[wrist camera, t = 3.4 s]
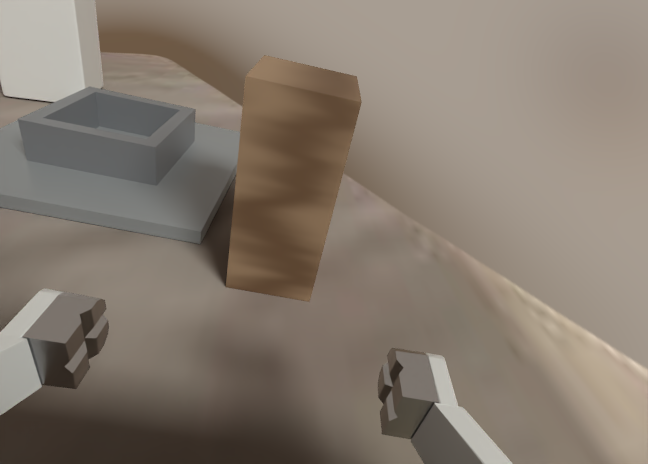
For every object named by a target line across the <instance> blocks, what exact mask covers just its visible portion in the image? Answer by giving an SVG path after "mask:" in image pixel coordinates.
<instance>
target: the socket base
mask: <svg viewBox="0 0 648 464" xmlns="http://www.w3.org/2000/svg"><path fill="white" fill-rule="evenodd" d="M239 141H240V132H237V131H233V130H228V129H223V128H218V127H214V126H209V125H204V124H200V123H195V109H193V108H188V107H183V106H179V105H174V104H169V103H165V102H160V101H155V100H151V99H146V98H141V97H137V96H132V95H127V94H123V93H118V92H113V91H109V90H104V89H99V88H95V87H90V86H89V87H87V88H85V89H83V90H80V91H78V92H76V93H74V94H72V95H69V96H67V97H65V98H63V99H61V100H58V101H56V102H54V103H52V104H50V105H47V106H45V107H43V108H41V109H39V110H37V111H34V112H32V113H30V114H28V115H26V116H23V117H21V118H19V119H18V120H17V121H15V122H13V123H11V124H8V125H6V126H4V127H2V128H0V207H2V208H7V209H13V210H18V211H24V212H29V213H35V214H40V215H45V216H51V217H56V218H62V219H67V220H73V221H78V222H83V223H89V224H94V225H100V226H105V227H111V228H116V229H121V230H127V231H132V232H138V233H143V234H149V235H154V236H159V237H165V238H170V239H176V240H181V241H186V242H192V243H197V244H201V242H202V240H203V238H204V236H205V234H206V232H207V230H208V228H209V226H210V224H211V222H212V220H213V218H214V216H215V214H216V212H217V210H218V208H219V206H220V204H221V202H222V200H223V198H224V197H225V195H226V193H227V191H228V189H229V187H230V185H231V183H232V181H233V179H234V177H235V175H236V173H237V162H238V152H239Z"/></svg>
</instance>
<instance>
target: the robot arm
mask: <svg viewBox="0 0 648 464" xmlns="http://www.w3.org/2000/svg"><path fill="white" fill-rule="evenodd" d="M105 310H106V304H105V300H103V299H99V298H94V297H89V296H84V295H79V294H74V293H69V292H62V291H57V290H52V289H46V288H45V289H43V290H41V291H39V292H38V293H37V294H36V295H35V296H34V297H33V298H32V299H31V300H30V301H29V302H28V303H27V304H26V305H25V306H24V307H23V308H22V309H21V310H20V312H19V313H18V314H17V315H16V316H15V317H14V318H13V319H12V320H11V321H10V322H9V323H8V324H7V325H6V326H5V327H4V328H3V329H2V330H1V332H0V415H2V414H3V413H5V412H6V411H8V410H9V409H11V408H12V407H13V406H15V405H16V404H18V403H19V402H21V401H22V400H24V399H25V398H26V397H28V396H29V395H31V394H32V393H34V392H35V391H37V390H38V389H40V388H41V387H42V385H47V386H55V387H63V388H72V389H77V387H78V386H79V384H80V382H81V381H82V379H83V378H84V376H85V375H86V373H87V371H88V370H89V368H90V365H89V359H90V358H92V357H94V356H96V355H97V354H99V352H100V351H101V349H102V347H103V346H104V344H105V341H106V338H107V335H108V329H109V324H108V320H107V319H106V317H105V316H104V315H103V313H104V312H105ZM387 358H388V363H386V364H384V365H383V366H382V368H381V371H380V374H379V379H378V397H379V399H380V400H381V402H382V403H383V406H382V408H381V411H380V419H381V428H382V434H383V435H389V436H394V437H400V438H406V439H411V443H412V444H413V446H414V448H415V449H416V451H417V452H418V454H419V456H420V457H421V459H422V461H423V462H424V464H513V463H512V462H511V461H510V460H509V459H508V458H507V457H506V456H505V454H504V453H503V452H502V451H501V450H500V449H499V448H498V446H497V445H496V444H495V443H494V442H493V441H492V440H491V438H490V437H489V436H488V435H487V434H486V433H485V432H484V430H483V429H482V428H481V427H480V426H479V425H478V424H477V423H476V421H475V420H474V419H473V418H472V417H471V416H470V415H469V413H468V412H467V411H466V410H465V409H464V408H463V407H459V406H458V404H457V400H456V397H455V393H454V390H453V386H452V383H451V379H450V376H449V372H448V369H447V365H446V362H445V359H444V357H443V356H441V355H435V354H429V353H424V352H418V351H412V350H405V349H399V348H392V349H390V351H389V353H388V355H387Z"/></svg>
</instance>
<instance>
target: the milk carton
mask: <svg viewBox="0 0 648 464" xmlns="http://www.w3.org/2000/svg"><path fill="white" fill-rule="evenodd" d="M0 82H1V87H2V91H3V94H4V95H5V96H10V97H18V98H26V99H34V100H42V101H50V102H56V101H58V100H61V99H63V98H65V97H67V96H69V95H72V94H74V93H76V92H78V91H80V90H83V89H85V88H87V87H89V86H90V87H95V88H99V89H101V88H102V87H103V76H102V66H101V56H100V47H99V37H98V27H97V16H96V6H95V0H0Z"/></svg>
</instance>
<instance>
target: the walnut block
mask: <svg viewBox="0 0 648 464" xmlns="http://www.w3.org/2000/svg"><path fill="white" fill-rule="evenodd" d="M360 106H361V97H360V91H359V86H358V80H357V77H356V76H352V75H348V74H344V73H339V72H335V71H330V70H327V69H322V68H318V67H314V66H309V65H304V64H300V63H296V62H292V61H288V60H283V59H279V58H275V57H270V56H266V55H264V56H263V57H262V58H261V60H260V61H259V62H258V63H257V64H256V65H255V66H254V67H253V68H252V70H251V71H250V72H249V73H248V74H247V75H246V77H245V88H244V99H243V109H242V120H241V130H240V141H239V152H238V162H237V173H236V183H235V194H234V205H233V215H232V226H231V236H230V247H229V258H228V268H227V279H226V287H229V288H234V289H240V290H246V291H251V292H257V293H263V294H269V295H274V296H280V297H286V298H291V299H297V300H303V301H308V302H309V301H310V298H311V294H312V290H313V286H314V282H315V278H316V275H317V271H318V267H319V263H320V259H321V255H322V252H323V248H324V244H325V240H326V236H327V232H328V229H329V225H330V221H331V217H332V213H333V210H334V206H335V202H336V198H337V194H338V190H339V187H340V183H341V179H342V175H343V171H344V167H345V163H346V160H347V156H348V152H349V148H350V144H351V141H352V137H353V133H354V129H355V125H356V121H357V117H358V114H359V110H360Z"/></svg>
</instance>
